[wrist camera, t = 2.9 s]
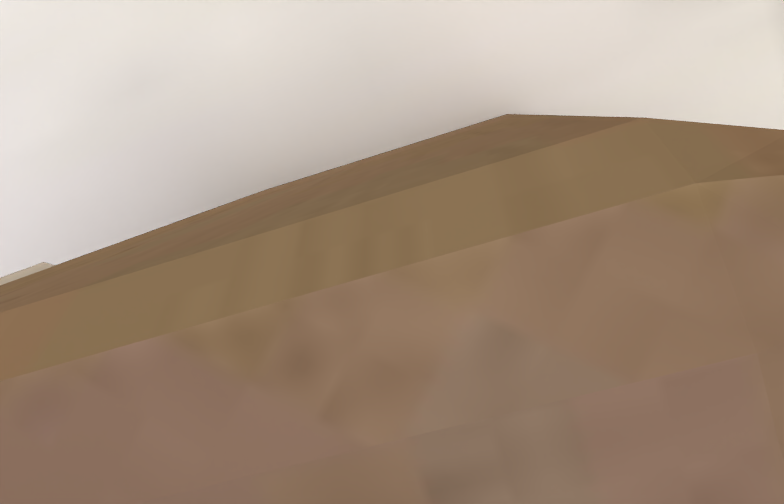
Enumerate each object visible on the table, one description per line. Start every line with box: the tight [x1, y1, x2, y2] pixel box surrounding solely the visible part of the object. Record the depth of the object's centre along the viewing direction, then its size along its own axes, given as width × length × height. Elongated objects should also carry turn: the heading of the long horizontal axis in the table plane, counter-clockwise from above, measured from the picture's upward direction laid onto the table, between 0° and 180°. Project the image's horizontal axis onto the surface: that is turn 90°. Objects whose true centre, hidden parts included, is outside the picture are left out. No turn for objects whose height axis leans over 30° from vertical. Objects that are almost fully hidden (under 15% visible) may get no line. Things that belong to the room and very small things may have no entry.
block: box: [0, 114, 784, 504], centre depth 14 cm, size 10×10×20 cm
